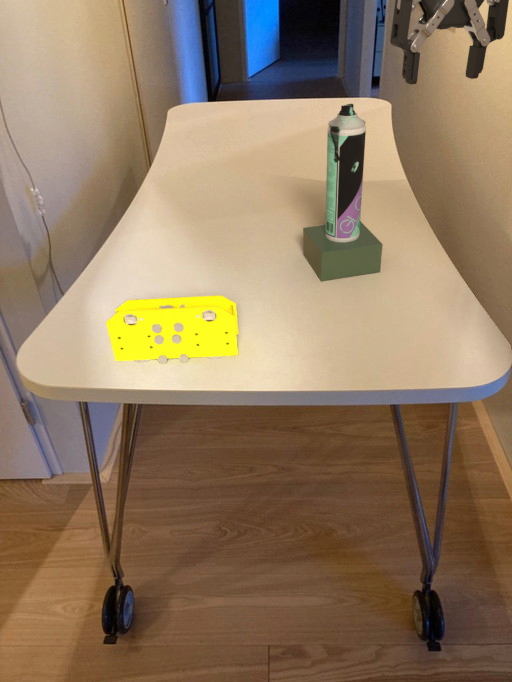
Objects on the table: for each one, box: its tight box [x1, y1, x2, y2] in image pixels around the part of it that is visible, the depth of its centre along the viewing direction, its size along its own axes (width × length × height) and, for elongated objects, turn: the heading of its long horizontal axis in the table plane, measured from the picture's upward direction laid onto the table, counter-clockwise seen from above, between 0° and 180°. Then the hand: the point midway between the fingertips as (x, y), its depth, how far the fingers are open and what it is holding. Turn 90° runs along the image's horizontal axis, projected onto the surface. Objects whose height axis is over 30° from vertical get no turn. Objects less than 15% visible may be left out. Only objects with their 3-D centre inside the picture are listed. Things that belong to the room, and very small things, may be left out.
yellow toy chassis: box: [105, 294, 240, 365], centre depth 71 cm, size 16×6×8 cm, turn 91°
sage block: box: [302, 220, 383, 282], centre depth 90 cm, size 10×10×5 cm
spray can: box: [325, 103, 367, 242], centre depth 83 cm, size 6×6×20 cm
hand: (441, 80), depth 73 cm, fingers open, 8 cm apart
